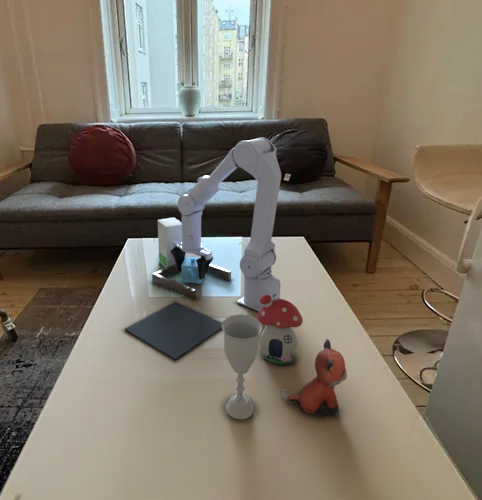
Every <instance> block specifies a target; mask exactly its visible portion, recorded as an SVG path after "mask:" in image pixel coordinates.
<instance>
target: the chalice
mask: <svg viewBox="0 0 482 500" xmlns="http://www.w3.org/2000/svg"><path fill="white" fill-rule="evenodd" d="M221 323H222V329H221V330H222V332H223V336H224V338H223V339H224V340H223V348H224V349H223V350H224V354H225V357H226V360H227V362H228V363H229V365H230V367H231V369H232V370H233V372H234V373H235V374H237V377H236V378H235V381H236V383H237V384H236V385H235V387H234V388H235V390H236V393H234V394H232V396H231V397H229V400H228V402H227V403H226V405H225V412H226V413H227V414H228V415H229V416H230V417H231V418H233V419H236V420H245V419H248V418H250V417H251V416H252V415H253V413H254V407H253V404H252V402H251V401H250V398H249V397H248V396H247V395H245V394H244V393H243V392H244V391H245V389H246V387H245V386H244V384H243V383H244V382H245V377H244V374H247V373H248V372H249V370H250V369H251V368H252V366H253V365H254V362H255V360H256V358H257V356H258V353H259V342H260V340H259V339H260V335H261V333H262V331H263V324H261V323H260V322H259V320H257V317H254V316H251V315H248V314H234V315H229V316H228V317H226V318H224V320H222V322H221Z"/></svg>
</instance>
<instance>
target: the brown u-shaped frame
mask: <svg viewBox="0 0 482 500" xmlns="http://www.w3.org/2000/svg"><path fill="white" fill-rule="evenodd" d="M180 272H181V270H180V271H179V270H178V268H177V265H176V263H175V264H173V265H171V266H169V267H166V268H165V267H164V268H162V269H160V270H157V271H155V272H153V273H151V277H152V279H151V280H152V283H153V284H156V285H157V286H160V287H162V288H165V289H167V290H169V291H171V292H174V293H176V294H178V295H181V296H183V297H185V298H187V299H190V300H192V301H195V300H197V289H196V288H194V287H191V286H189V285H187V284H185V283H184V284H183V283H182V282H178V281H176V280H174V279H172V278H170V277H172V276H174V275H176V274H179V273H180ZM181 273H182V272H181ZM206 274H208V275H209V274H210V275H211V276H214V277H218V278H220V279H222V280H224V281H225V280H226V281H228V282H229V281H231V280H232V271H231V270H229V269H227V268H223V267H221V266H218V265H214V264H212V263H210V265H209V267H208V270H207V273H206Z"/></svg>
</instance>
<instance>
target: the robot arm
mask: <svg viewBox="0 0 482 500" xmlns="http://www.w3.org/2000/svg"><path fill="white" fill-rule="evenodd" d="M239 168H241V169H242V170H244V171H245V172H247V173H248V174H250V175H251V176H252V177H253V179H255V180H256V181H257V185H256V194H255V201H254V207H253V208H254V209H253V216H252V224H251V231H250V239H249V241H248V244H247V245H246V247H245V248H244V253H243V256H242V257H241V258H240V261H239V270H240V271H241V272H242V274H243V296H242V297H241V298H240V299H238V300H237V301H236V302H237V304H240V305H242V306H244V307H247V308H250V309H252V310H255V311H257V312H259V311H260V310H261V308H262V307H263V306H264V304H261V303H260V298H261V297H262V296H263V295H270V296H271V300H275V299H281V298H280V297H281V280H280V279H279V278H277V277H275V276H274V275H273V274H272V267H273V266H274V265H275V264H276V262H277V254H276V250H275V249H276V244H275V242H273V241H272V238H273V231H274V227H275V226H274V225H275V220H276V213H277V206H278V199H279V194H280V188H281V181H282V171H281V167H280V165H279V162H278V157H277V147H276V146H275V145H274V144H273V143H272V141H271V140H270V139H268V138H266V137H262V136H261V137H257V138H254V139H250V140H241V141H239V142H238V143H236V145H235V146H234V147H232V148H231V149H230V150H229V151H228V152H227V155H226V156H225V157H224V158H223V160H221V162H220V163H219V164H218V165H217V166H216V168H214V170H213V171H212V172H211V174H210V175H203V176H199V177H198V178H197V179H196V181H197V182H196V183H195V185H193V187H190V188H189V189H188V192H187V194H182V195H180V196H179V198H178V200H177V206H176V207H177V210H178V212H180V214H181V223H182V241H178V240H176V241H173V242H172V244H173V249H172V250H171V251H170V252H171V254H172V255H173V257H174V259H175V262H176V265H177V268H178V270H179V271H180V270H181V266H182V263H183V261H184V259H185V257H186V254H193V255H196V256H197V257H200V258H199V259H197V260H196V262H197V265H198V270H199V279H200V280H202V279H205V278H206V276H207V274H208V273H207V270H208V267H209V265H210V264H212V262H213V260H214V256H213V252H212V251H210V250H208V249H207V248H205V247H204V246H203V243H202V216H203V211H204V209H205V208H206V206H207V205H206V204H207V203H208V202H209V201H210V200H211V199H212V198H213V197H214V196H215V195H216V194H217V193H218V192H219V188H220V187H219V185H220V184H221V183H222V182H223V181H224V180H225V179H227V178H228V177H229V176H230V175H231V174H232V173H233V172H235V170H236V169H239ZM202 281H203V280H202Z"/></svg>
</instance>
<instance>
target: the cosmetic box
mask: <svg viewBox="0 0 482 500" xmlns="http://www.w3.org/2000/svg"><path fill="white" fill-rule="evenodd" d="M157 238H158V239H157V242H158V243H157V244H158V262H159V263H160V264H161V265H162V266H163V267H164V268H166V267H169V266H171V265H173V264H175V263H176V262H175V259H174V257H173V255H172V254H171V252H170V251H171V250H172V249H173V244H172V242H173V241H176V240H178V241H182V221H180V220H179V219H177V218H176V217H167V218H161V219H157Z"/></svg>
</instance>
